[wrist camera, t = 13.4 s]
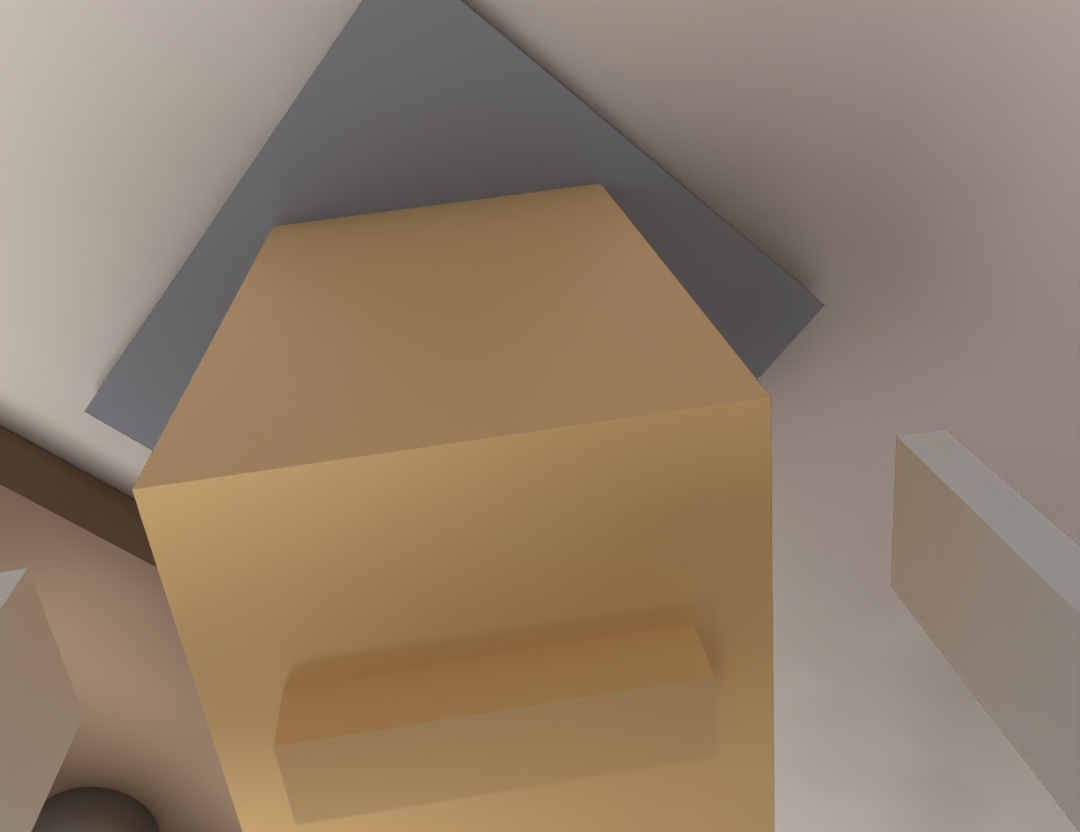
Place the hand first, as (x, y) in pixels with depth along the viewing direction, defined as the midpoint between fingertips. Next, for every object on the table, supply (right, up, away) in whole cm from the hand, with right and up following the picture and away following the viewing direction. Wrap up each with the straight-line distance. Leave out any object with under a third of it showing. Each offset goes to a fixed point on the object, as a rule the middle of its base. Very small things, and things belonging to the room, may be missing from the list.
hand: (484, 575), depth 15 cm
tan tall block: (-1, +4, +8) cm, 8 cm away
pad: (-1, +4, +8) cm, 9 cm away
